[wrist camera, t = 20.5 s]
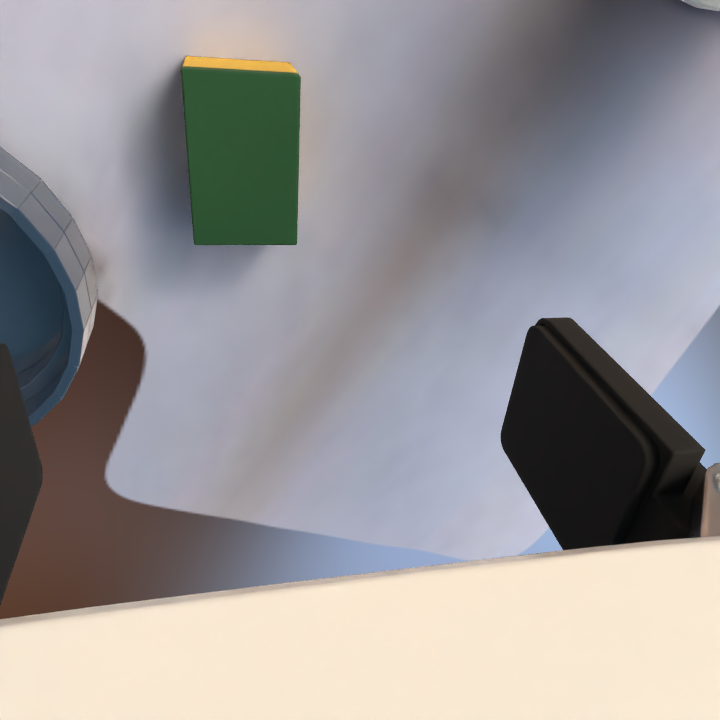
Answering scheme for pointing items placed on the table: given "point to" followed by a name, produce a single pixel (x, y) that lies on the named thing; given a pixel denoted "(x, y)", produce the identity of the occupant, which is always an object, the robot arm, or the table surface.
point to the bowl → (42, 288)
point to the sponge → (242, 150)
